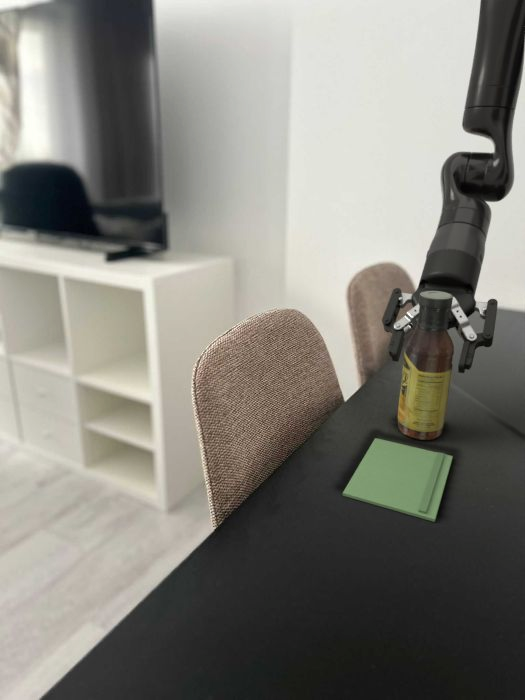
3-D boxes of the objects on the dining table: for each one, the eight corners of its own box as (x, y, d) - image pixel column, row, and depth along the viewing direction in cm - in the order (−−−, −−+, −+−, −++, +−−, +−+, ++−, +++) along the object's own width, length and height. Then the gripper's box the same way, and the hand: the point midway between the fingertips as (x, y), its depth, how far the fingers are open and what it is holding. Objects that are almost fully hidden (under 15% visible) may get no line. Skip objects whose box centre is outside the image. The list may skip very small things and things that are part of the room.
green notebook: (374, 440, 69) (375, 435, 69) (452, 458, 65) (453, 454, 65) (342, 495, 57) (342, 490, 57) (434, 522, 53) (435, 516, 53)
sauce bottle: (403, 417, 76) (418, 285, 69) (446, 428, 73) (467, 291, 66) (389, 436, 70) (404, 294, 64) (436, 448, 67) (457, 301, 61)
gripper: (506, 284, 72) (484, 387, 67) (405, 274, 79) (377, 367, 73) (510, 251, 66) (486, 361, 60) (400, 243, 73) (368, 342, 67)
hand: (426, 364), depth 67 cm, fingers open, 8 cm apart
